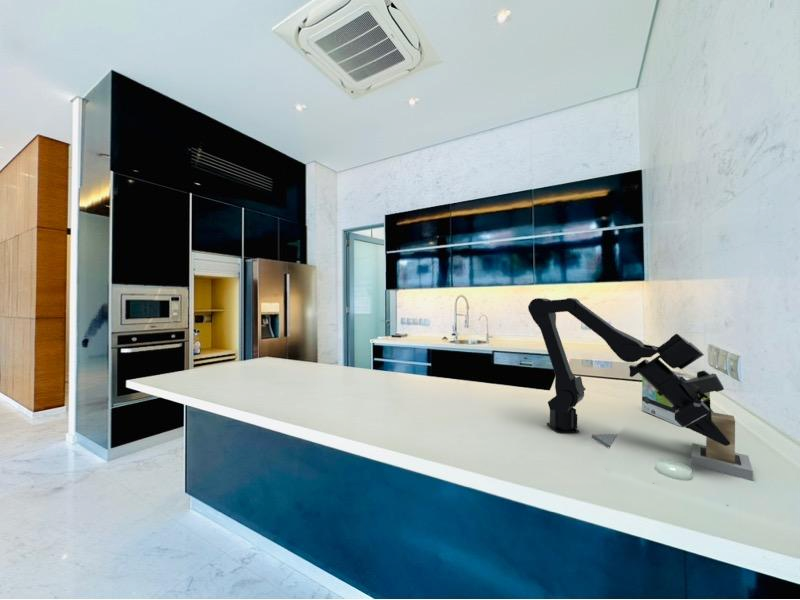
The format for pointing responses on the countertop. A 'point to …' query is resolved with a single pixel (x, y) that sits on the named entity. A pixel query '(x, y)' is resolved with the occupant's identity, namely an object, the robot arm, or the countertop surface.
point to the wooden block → (728, 429)
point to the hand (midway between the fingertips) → (727, 438)
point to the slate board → (605, 438)
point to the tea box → (660, 401)
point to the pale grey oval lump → (673, 469)
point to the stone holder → (722, 463)
